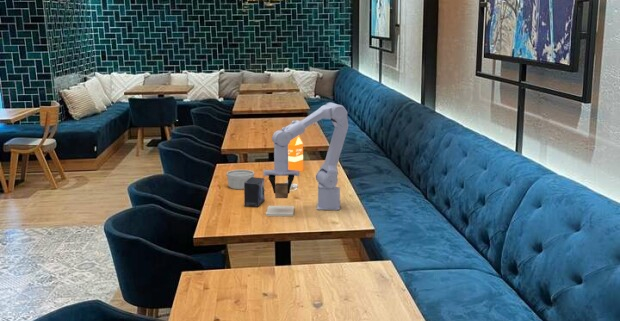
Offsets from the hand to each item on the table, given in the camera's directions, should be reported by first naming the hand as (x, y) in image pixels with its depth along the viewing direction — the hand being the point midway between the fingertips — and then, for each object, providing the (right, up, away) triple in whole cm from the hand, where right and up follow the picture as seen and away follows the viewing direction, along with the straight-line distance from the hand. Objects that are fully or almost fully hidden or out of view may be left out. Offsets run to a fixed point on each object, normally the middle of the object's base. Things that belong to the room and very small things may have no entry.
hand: (281, 192), depth 242 cm
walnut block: (0, -2, 0) cm, 2 cm away
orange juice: (+2, +8, +74) cm, 74 cm away
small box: (-12, -6, +15) cm, 20 cm away
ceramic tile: (-1, -8, +3) cm, 8 cm away
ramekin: (-22, 0, +42) cm, 47 cm away
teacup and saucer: (+5, -1, +38) cm, 38 cm away
